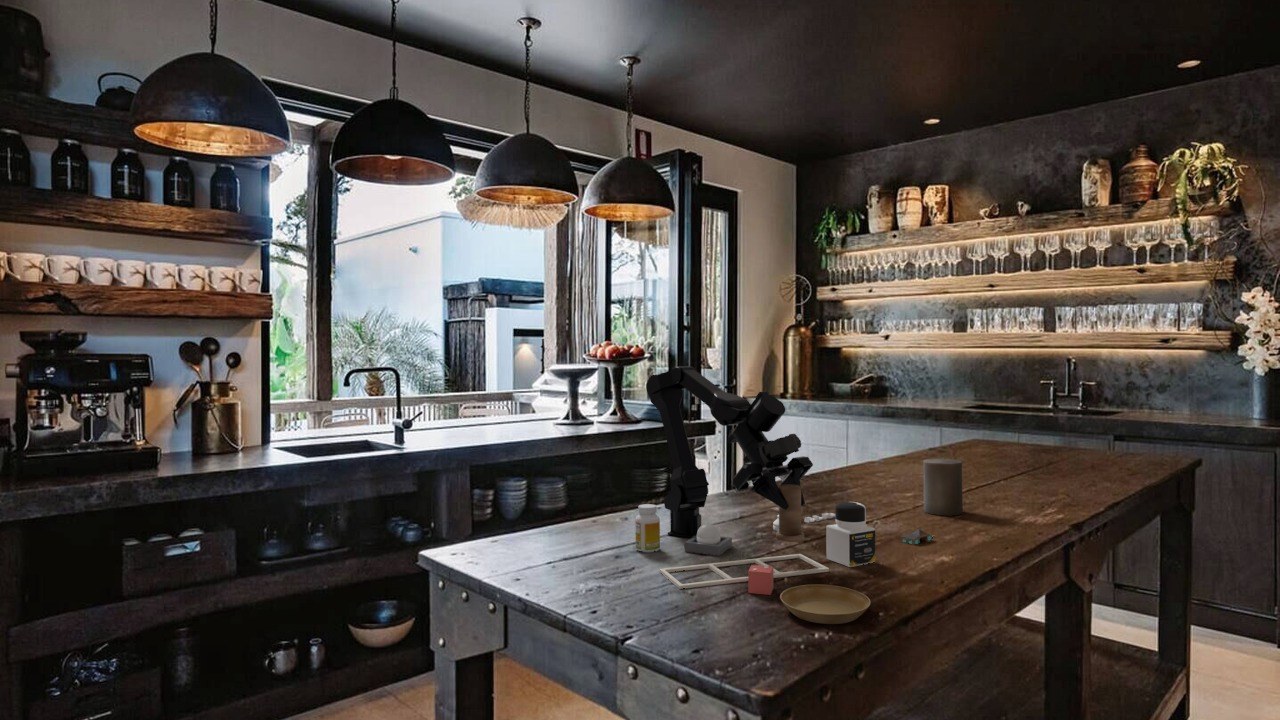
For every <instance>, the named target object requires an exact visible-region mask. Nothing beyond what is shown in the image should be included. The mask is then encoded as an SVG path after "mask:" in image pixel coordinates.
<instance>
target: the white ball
mask: <svg viewBox="0 0 1280 720" xmlns="http://www.w3.org/2000/svg"><path fill="white" fill-rule="evenodd" d="M720 536H721V532H720V529H719V528H718V526H716V525H715V524H713V523H710V522H709V523H703V524H701V526H700V528H699V529H698V531H697V543H705V544H714V545H717V544H718V543H720Z"/></svg>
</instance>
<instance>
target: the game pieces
mask: <svg viewBox="0 0 1280 720" xmlns="http://www.w3.org/2000/svg"><path fill="white" fill-rule="evenodd" d="M770 510H772V511H771V512H774V511H775V512H774V513H778V512H779V506H776V507H771V508H770ZM770 510H769V511H770ZM833 518H836V513H832V512H830V513H828V512H824V513H821V516H819V515H816V514H815V515H814V514H813V515H812V517H811V516H807V517H806V516H805V517H804V521H803V522H805V523H807V524H810V523H815V522H819V521H823V520H828V519H833ZM933 536H934V535H933V534H930V533H927V532H925V531H924V529H920V528H918V529H916V530H915V531H913V532H911V533H908V534H903V535H900V538H899V540H900V541H902V542H901V543H903V542H906V543H905V544H907V543H909V544H908V545H911V544H917V545H919V544H918V543H921V540H925V541H924V542H926V541H928V540H932V541H933V538H934V537H933ZM932 537H933V538H932ZM928 542H929V541H928Z"/></svg>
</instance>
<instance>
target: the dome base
mask: <svg viewBox="0 0 1280 720" xmlns="http://www.w3.org/2000/svg"><path fill="white" fill-rule="evenodd" d="M732 547H733V538H732V537H728V536H721V535H720V543H718V544H717V545H714V544H705V543H697V535H696V536H694V537H692V538H690V539H687V541H685V542H684V552H685V551H688V552H687V553H693V552H695V553H694V554H701V553H702V555H703V554H704V555H709V554H710V555H711V556H718V557H719V556H721V555H723V553H725V552H727V551H728V550H729V549H730V548H732Z"/></svg>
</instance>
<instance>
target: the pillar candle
mask: <svg viewBox="0 0 1280 720" xmlns="http://www.w3.org/2000/svg"><path fill="white" fill-rule="evenodd" d="M941 456H942V455H941ZM922 461H923V462H922V463H923V466H922V467H923V511H924V512H925V513H927V514H930V515H935V516H936V515H937V516H946V517H947V516H949V517H952V515H954V516H959V515H960V514H961V515H962V514H963V512H964V509H963V506H964V505H963V461H962V460H958V459H953V458H952V459H950V458H944V456H942V457H941V458H927V459H924V460H922Z"/></svg>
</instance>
